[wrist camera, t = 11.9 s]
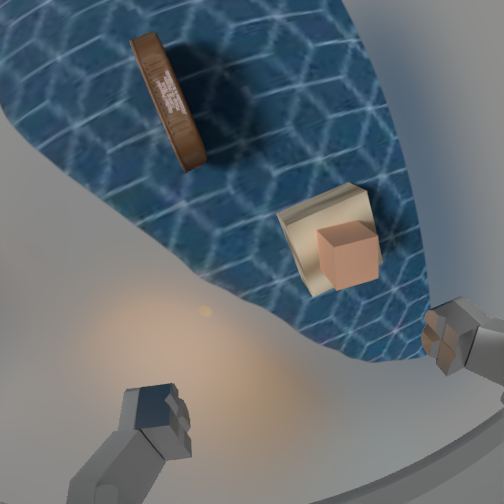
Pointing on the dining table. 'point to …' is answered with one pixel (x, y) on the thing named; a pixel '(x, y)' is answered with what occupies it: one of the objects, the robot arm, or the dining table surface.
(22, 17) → the dining table surface
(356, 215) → the base block
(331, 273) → the cube
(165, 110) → the tin
